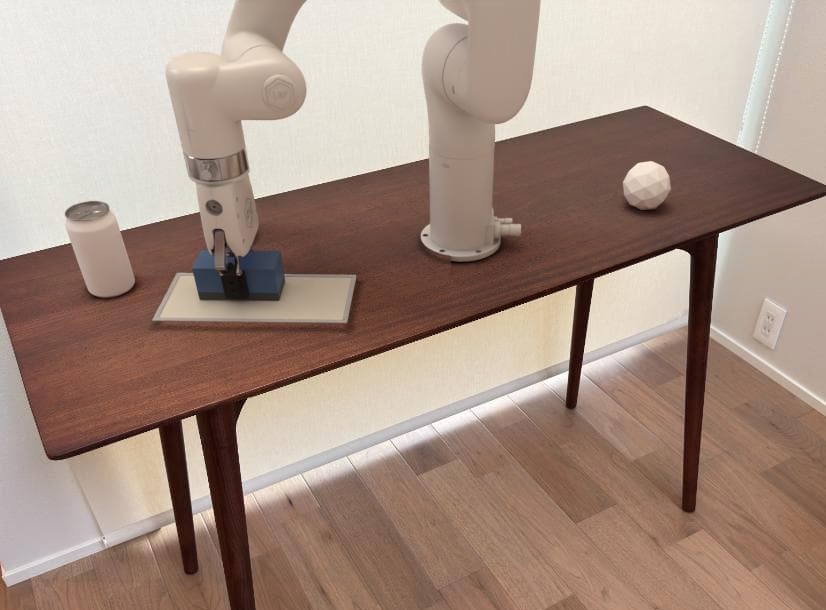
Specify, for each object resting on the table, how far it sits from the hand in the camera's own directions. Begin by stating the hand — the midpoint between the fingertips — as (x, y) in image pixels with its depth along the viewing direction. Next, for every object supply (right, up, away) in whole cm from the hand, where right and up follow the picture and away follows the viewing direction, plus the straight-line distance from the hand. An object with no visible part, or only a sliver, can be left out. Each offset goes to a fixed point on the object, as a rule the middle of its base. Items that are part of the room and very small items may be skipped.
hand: (241, 284), depth 109 cm
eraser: (0, -1, +1) cm, 1 cm away
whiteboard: (+2, -3, 0) cm, 4 cm away
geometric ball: (+62, +17, +24) cm, 68 cm away
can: (-20, 0, +3) cm, 20 cm away
